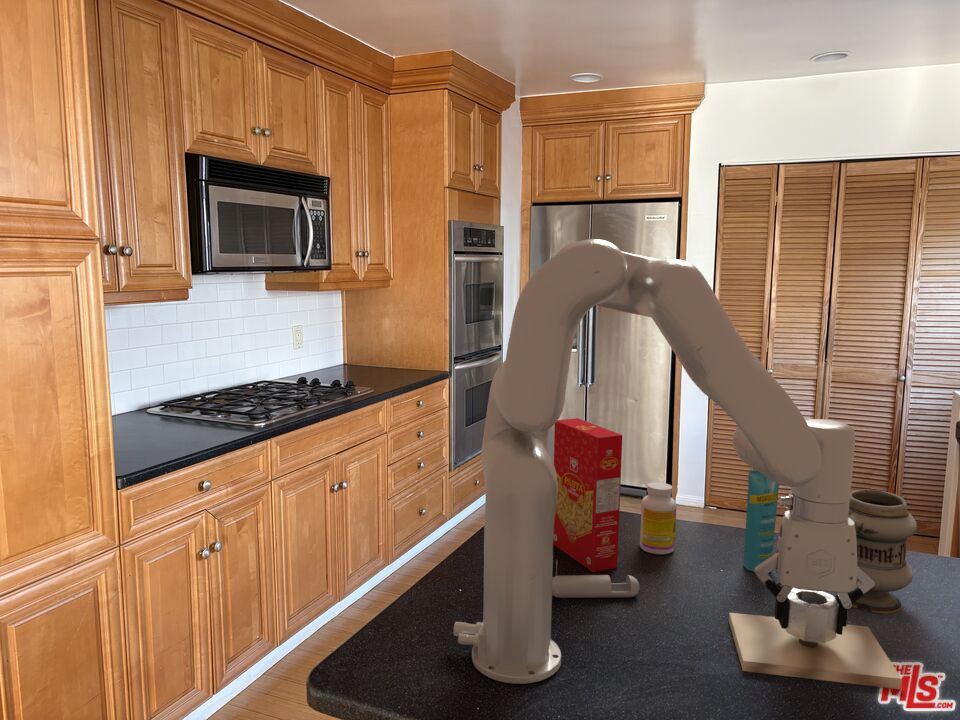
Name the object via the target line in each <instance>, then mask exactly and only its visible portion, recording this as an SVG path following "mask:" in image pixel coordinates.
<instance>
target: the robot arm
mask: <svg viewBox="0 0 960 720" xmlns="http://www.w3.org/2000/svg"><path fill="white" fill-rule="evenodd" d="M596 306H598V307H602V308H605V309H609V310H615V311H619V312H623V313H627V314H634V315H639V316H643V317H648V318H651V319H652V321H653V322H654V323H655V325H656V326H657V328H658V330H659V331H660V333H661V334H662V336H663V337H664V339H665V340H666V341H667V342H666V343H667V344H668V346H669V347H670V348H671V350H672V351H673V353H674V355H675V356H676V357H677V359H678V361H679V364H680V365H681V366H682V368H683V369H684V371H685V372H686V374H687V375H688V377H689V379H690V380H691V381H692V383H694V385H695V386H696V387H697V388H698V389H699V390H700V391H701V392H702V393H703V394H704V395H706V397H708V398H709V399H711V401H712V402H714V403H715V404H716V405H717V406H719V408H721V409H722V410H723V412H725V413H726V414H727V415H728V416H729V417H730V418H731V420H732V421H734V423H735V424H736V425H737V427H736V428H735V430H734V432H733V435H732V446H733V449H734V451H735V454H736V455H737V456H738V458H739V459H740V460H741V461H742V462H744V463H745V464H746V465H748V466H750V468H752V469H753V470H757V471H758V472H761V473H762V474H764V475H765V476H767V477H768V478H769V479H771V480H772V481H774V482H775V483H777V484H779V486H783V487H789V488H790V491H789V494H788V496H786V495H785V496H780V497H779V499H778V500H779V502H778V503H779V507H784V508H786V509H788V510H786V511H784V514H783V517H782V521H781V524H780V527H779V531H778V535H777V536H778V537H777V542H776V549H775V553H773V556H771V557H770V558H768V559H767V560H765V561H764V562H762V563H761V564H759V565H758V566H757V567H755V568H754V571H755V572H754V573H755V575H756V577H757V578H758V579H759V580H760V582H761V583H762V584H764V586H765V587H766V589H767V590H769V592H770V593H771V594H772V595H773V596H774V597H775V600H774V601H775V602H774V613H773V615H774V617H775V619H777V620H778V621H779V623H780V625H781V628H783V629H786V628H787V626H788V614H789V603H788V601H787V597H788V595H789V594H790V592H791V590H792V589H793V588H794V589H803V590H813V591H823V592H826V593H836V594H835V596H836V595H837V596H836V597H835V599H836V600H837V602H838V604H839V609H838V620H837V631H836V633H837V634H839V635H842V631H843V626H844V627H846V625H848V624H847V623H848V613H849V609H851V608H852V604H853V603H854V602H855V601H857V600H858V599H860V598H861V597H862V596H863V594H864V593H866V592H867V591H869V590H870V589H871V588H872V587H874V585H875V582H874V581H873V580H872V578H871V577H870V576H869V575H868V574H867V573H866V572H865V571H863V570H862V569H861V568H860V567H859V566H858V565H857V538H856V529H855V523H854V522H853V521H852V520H851V519H850V518H848V517H849V505H850V494H851V492H852V480H853V470H854V469H853V467H854V458H855V449H856V448H855V446H856V432H855V430H854V429H853V427H852V426H850V425H849V424H847V423H844V422H842V421H838V420H832V419H825V418H822V419H821V418H811V419H806V418H804V416H803V414H802V412H801V411H800V409H799V408H798V406H797V405H796V403H795V402H794V401H793V399H792V398H791V396H790V395H789V394H788V393H787V392H786V391H785V389H784V387H782V386H781V384H780V383H779V382H778V381H777V380H776V379H775V377H773V375H772V374H771V373H770V372H769V371H768V370H767V368H766V367H765V366H764V364H763V363H762V362H761V361H760V360H759V359H758V357H756V355H755V354H754V353H753V352H752V351H751V350H750V348H749V347H748V345H747V344H746V342H745V340H743V338H742V335H741V334H740V333H739V331H738V330H737V327H735V325H734V324H733V322H732V320H731V318H730V316H729V315H728V314H727V312H726V310H725V309H724V307H723V305H722V304H721V302H720V300H719V299H718V297H717V295H716V293H715V291H713V289H712V287H711V286H710V284H709V282H708V281H707V279H706V278H705V276H704V275H703V274H702V272H701V271H700V270H699V268H697V267H696V265H694V264H692V263H691V262H689V261H686V260H684V259H683V260H682V259H677V258H676V259H675V258H669V259H668V258H665V259H664V258H663V259H662V258H654V257H648V256H644V255H639V254H633V253H629V252H627V251H626V252H625V251H622V250H621V249H620V248H619V247H618V246H616V245H615V244H614V243H613V242H610V241H608V240H604V239H599V238H597V239H596V238H587V239H583V240H577V241H574V242H569V243H568V244H566V245H564V246H563V247H562V248H560V249H559V251H558V252H556V254H555V255H553V256H552V257H550V258H548V260H546V261H545V262H544V263H543V264H542V265H541V266H539V268H538V269H536V271H535V272H534V273H533V274H532V276H530V278H529V279H528V281H527V282H526V283H525V285H524V286H523V288H522V290H521V292H520V294H519V297H518V300H517V302H516V305H515V310H514V313H513V316H512V323H511V327H510V328H511V329H510V333H509V337H508V341H507V349H506V355H505V360H504V361H503V362H502V363H501V364H500V365H499V366H498V367H497V369H496V371H495V373H494V374H493V377H492V380H491V384H490V388H489V395H488V400H487V401H488V402H487V408H486V409H487V410H486V415H485V421H484V430H483V437H482V444H481V454H480V455H481V456H480V458H481V466H482V470H483V471H482V472H483V478H484V488H485V493H484V494H485V503H484V504H485V506H484V508H485V509H484V525H483V526H484V528H483V529H484V530H483V531H484V532H483V533H484V534H483V618H482V622H480V621H476V623H475V624H474V623H468V622H462V621H455V622H454V625H453V636H454V637H455V636H456V637H458V638H457V643H458V644H461V645H472V648H471V649H472V650H471V661H472V663H473V666H474V667H475V668H476V669H477V671H479V672H480V673H481V674H482V675H484V676H486V677H488V678H490V679H492V680H494V681H496V682H497V681H498V682H502V683H506V684H515V685H517V684H519V685H524V684H532V683H537V682H541V681H543V680H545V679H549V678H551V677H552V676H554V674H555V673H557V672H558V670H559V669H560V668H561V664H562V650H561V648H560V647H559V646H558V644H557V643H556V642H555V641H554V640H552V605H553V603H552V600H553V596H552V578H553V569H554V567H553V566H554V544H553V534H554V519H555V511H556V503H557V495H558V481H557V474H556V470H555V467H554V461H553V459H552V458H551V456H550V454H549V452H548V451H547V446H546V445H547V440H548V433H549V429H551V428H552V427H554V426H555V423H556V422H557V421H558V420H560V417H561V415H562V412H563V411H564V408H565V403H566V394H567V384H568V377H569V371H570V363H571V357H572V351H573V346H574V342H575V338H576V333H577V331H578V327H579V325H580V323H581V321H582V319H583V318H584V316H585V315H586V314H587V313H588V312H589V311H590V310H591V309H593V308H594V307H596ZM773 570H774V571H775V573H777V578H778V580H777V582H776V581H775V580H774V579H773V578H772V576H770V575H769V573H770V572H772V571H773ZM857 578H858V579H859V581H858V582H857ZM856 583H857V584H856Z"/></svg>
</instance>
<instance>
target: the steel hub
mask: <svg viewBox="0 0 960 720" xmlns="http://www.w3.org/2000/svg"><path fill="white" fill-rule="evenodd" d="M787 601H788V603H789V614H788V626H787V628H786V629H785V630H786V632H787V633H789V634H791V635H793V636H795V637H797V638H799V639H801V640H803V641H809V642H817V643H827V642H829V641H831V640H833V639H835V638H836V631H837V620H838V609H839V604H838V602H837V600H836V597H835V596H834V595H832V594H831V593H829V592H824V591H813V590H803V589H794V588H793V589H792V590H791V592H790V594H789V595H788V597H787Z"/></svg>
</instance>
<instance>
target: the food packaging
mask: <svg viewBox="0 0 960 720" xmlns="http://www.w3.org/2000/svg"><path fill="white" fill-rule="evenodd" d="M553 444H554V445H553V464H554V467H555V470H556V474H557V481H558V495H557V503H556V511H555V519H554V534H553V546H555V547H557V548H558V549H559V550H561V551H562V550H563V553H565V554H567V555H568V556H569V557H571V559H573V560H574V561H577V562H578V563H579V564H580V565H582V566H584V567H585V568H587V570H589V571H591V572H592V573H596V572H602V571H606V570H610V569H616V568H618V557H619V555H618V554H619V532H620V530H619V528H620V527H619V526H620V509H621V508H620V507H621V506H620V505H621V480H622V478H621V477H622V456H623V451H622V450H623V434H621V433H619V432H615V431H614V430H611V429H608V428H605V427H602V426H599V425H598V424H594V423H591V422H589V421H586V420H584V419H582V418H577V417H576V418H575V417H574V418H565V419H558V421H557V422H556V423H555V424H554V441H553Z"/></svg>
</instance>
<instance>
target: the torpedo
mask: <svg viewBox="0 0 960 720" xmlns="http://www.w3.org/2000/svg"><path fill="white" fill-rule="evenodd" d="M555 561H556V562H555V564H556V567H555V576H552V597H554V596H555V598H558V599H574V598H575V599H581V598H582V599H583V598H585V599H592V598H594V599H601V598H602V599H603V598H609V599H610V598H633V597H636V595H637V594H639V591H640V583H639V581H638V579H637V578H636V577H634V576H633V575H629V574H627V576H626V582H617V583H615V582H613V583H612V582H611V581H612V580H611V577H610V575H608V574H583V575H581V574H580V575H579V574H578V575H558V559H555Z"/></svg>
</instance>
